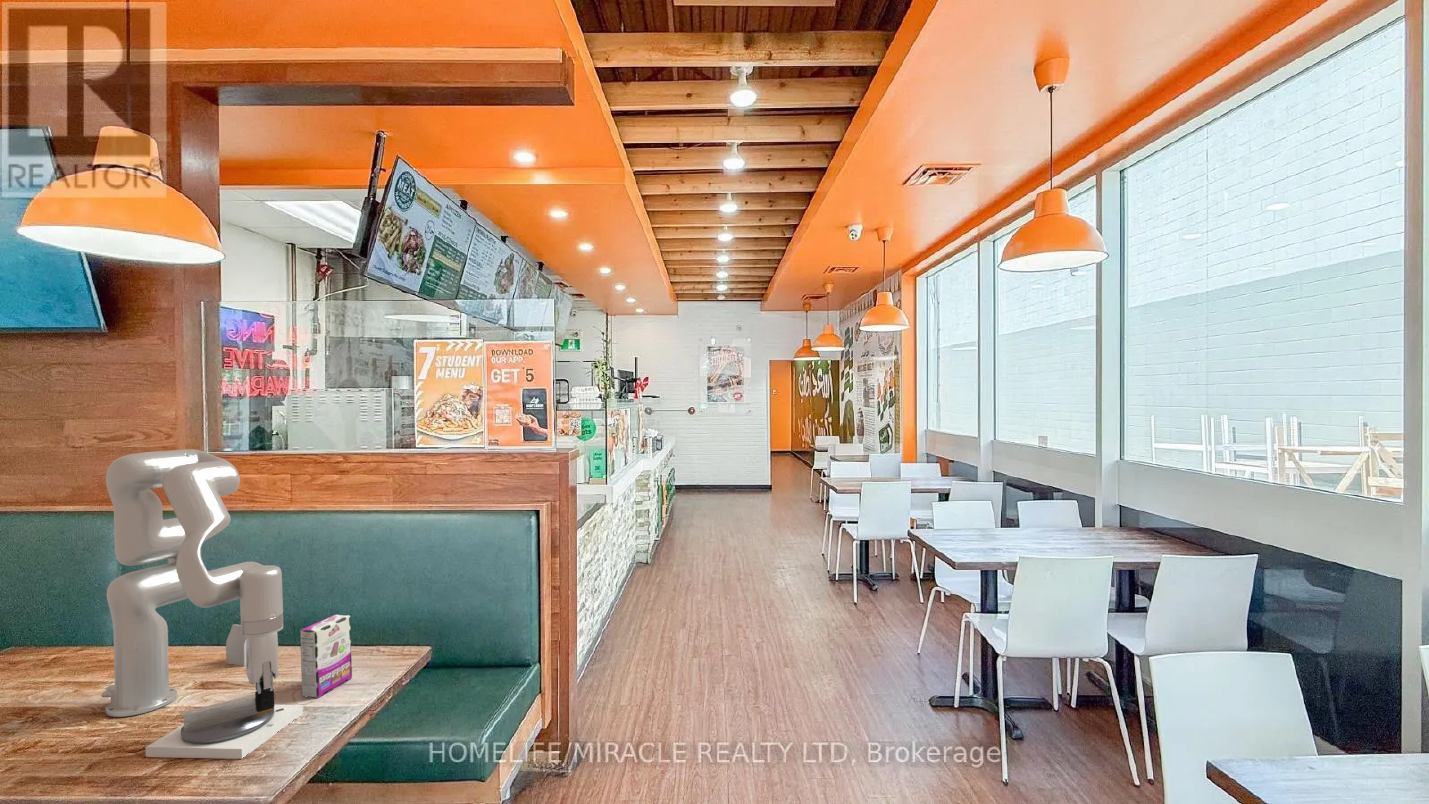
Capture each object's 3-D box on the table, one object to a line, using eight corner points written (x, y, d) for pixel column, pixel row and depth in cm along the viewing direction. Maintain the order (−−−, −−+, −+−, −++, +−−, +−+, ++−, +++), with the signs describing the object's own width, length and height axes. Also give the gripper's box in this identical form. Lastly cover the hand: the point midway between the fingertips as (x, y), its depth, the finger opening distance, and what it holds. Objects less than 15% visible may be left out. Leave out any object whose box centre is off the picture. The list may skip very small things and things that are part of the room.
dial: (179, 752, 127) (179, 729, 126) (181, 720, 139) (181, 699, 139) (277, 726, 137) (277, 704, 136) (271, 698, 149) (270, 678, 149)
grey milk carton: (244, 666, 172) (243, 629, 172) (226, 663, 174) (225, 626, 174) (257, 661, 176) (257, 624, 175) (240, 658, 178) (239, 622, 177)
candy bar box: (335, 676, 166) (335, 613, 165) (352, 678, 165) (352, 615, 164) (299, 697, 155) (298, 629, 154) (317, 699, 154) (316, 630, 153)
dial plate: (145, 756, 129) (145, 746, 129) (218, 712, 147) (218, 702, 147) (241, 758, 128) (241, 748, 128) (303, 713, 146) (303, 704, 146)
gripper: (237, 620, 142) (239, 703, 142) (245, 638, 131) (248, 727, 131) (277, 612, 147) (280, 692, 147) (288, 628, 136) (291, 715, 136)
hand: (265, 708), depth 139 cm, fingers closed
